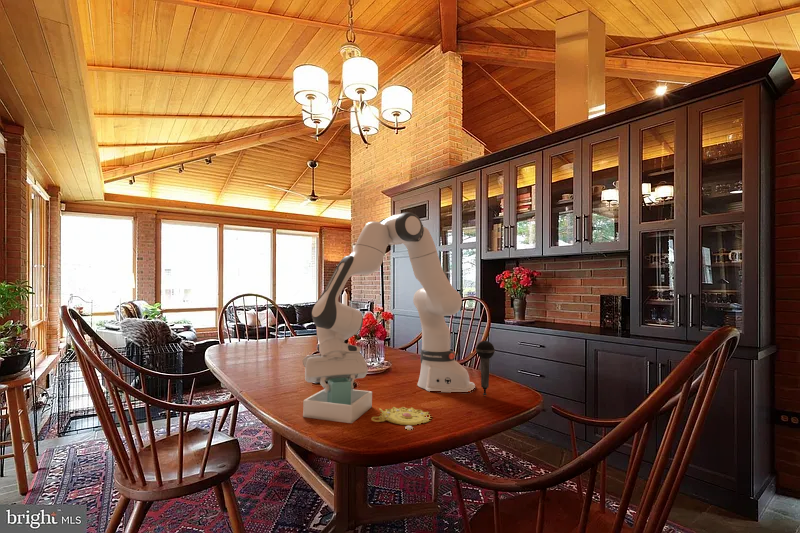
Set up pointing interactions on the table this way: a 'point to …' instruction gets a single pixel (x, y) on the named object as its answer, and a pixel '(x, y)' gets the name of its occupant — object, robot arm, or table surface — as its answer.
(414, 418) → the decorative object
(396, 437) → the table surface
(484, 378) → the microphone
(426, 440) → the table surface
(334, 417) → the white open box
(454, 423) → the table surface
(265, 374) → the table surface
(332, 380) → the block
